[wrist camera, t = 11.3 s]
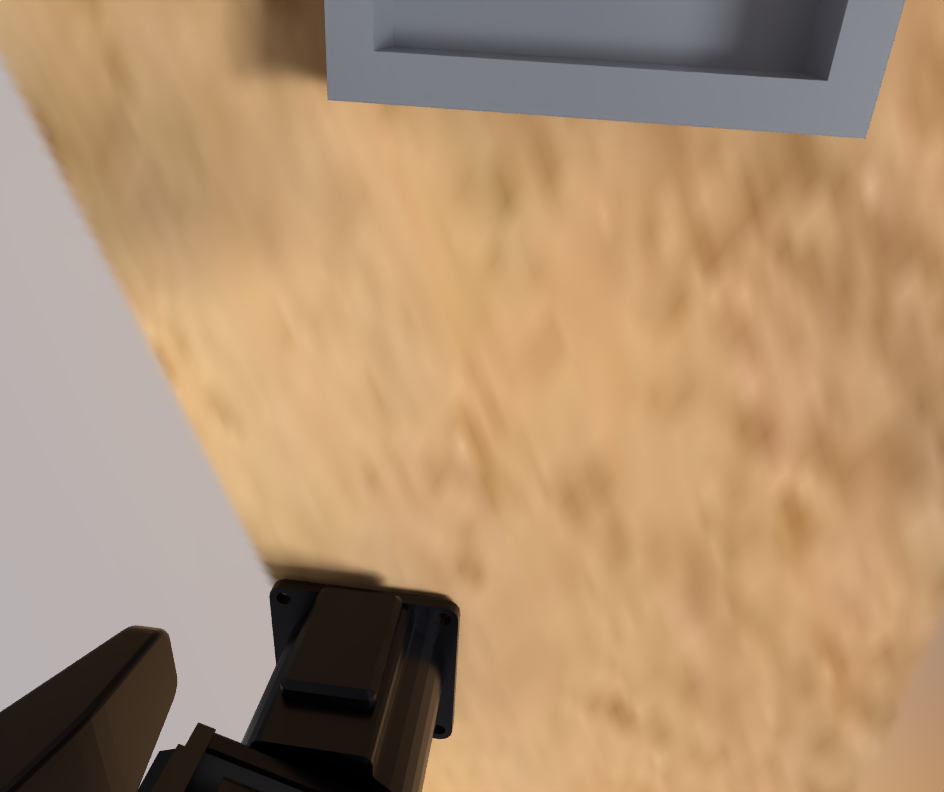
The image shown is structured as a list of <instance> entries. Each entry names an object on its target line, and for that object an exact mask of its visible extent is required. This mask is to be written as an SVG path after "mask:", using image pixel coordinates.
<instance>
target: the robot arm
mask: <svg viewBox="0 0 944 792" xmlns="http://www.w3.org/2000/svg"><path fill="white" fill-rule="evenodd" d="M283 593H285V594H287V595H289V596H286V595H284V594H283ZM270 607H271V617H272V627H273V637H274V646H275V657H276V667H275V669H274V671H273V674H272V676H271V678H270V680H269V683H268V685H267V687H266V689H265V692H264V694H263V696H262V698H261V700H260V702H259V705H258V707H257V709H256V711H255V714H254V716H253V718H252V720H251V723H250V725H249V727H248V729H247V731H246V734H245V736H244V738H243V741H242V742H241V743H239V742H237V741H234V740H232V739H229V738H226V737H224V736H221V735H219V734H217V733H215V731H216V729H214V728H211V727H209V726H206V725H203V724H201V723H198V724H197V726H196V727H195V729H194V731H193V733H192V735H191V736H190V738H189V740H188V742H187V743H186V745H185V746H183V745H180V744H178V746H177V747H176V749H171V750H164V751H159V753H158V755H157V757H156V758H155V760H154V762H153V764H152V766H151V767H150V769H149V771H148V773H147V775H146V776H145V778H144V780H143V782H142V784H141V785H140V783H141V780H142V778H143V775H144V773H145V770H146V768H147V765H148V762H149V760H150V758H151V755H152V752H153V750H154V747H155V745H156V742H157V740H158V737H159V735H160V732H161V730H162V727H163V725H164V722H165V720H166V717H167V714H168V712H169V710H170V707H171V704H172V702H173V699H174V696H175V693H176V687H177V674H176V669H175V663H174V658H173V653H172V648H171V642H170V638H169V635H168V633H167V632H166V631H165V630H163V629H159V628H152V627H144V626H131V627H128V628H126V629H124V630H123V631H121V632H120V633H118V634H117V635H115V636H114V637H112V638H111V639H109V640H108V641H106V642H105V643H103V644H102V645H100V646H99V647H98V648H96V649H94V650H93V651H91V652H90V653H88V654H87V655H85V656H84V657H82V658H81V659H79V660H78V661H76V662H75V663H73V664H72V665H70V666H69V667H67V668H66V669H64V670H63V671H61V672H60V673H58V674H57V675H55V676H54V677H52V678H51V679H49V680H48V681H46V682H45V683H43V684H42V685H40V686H39V687H37V688H36V689H34V690H33V691H31V692H30V693H28V694H27V695H25V696H24V697H22V698H21V699H19V700H18V701H16V702H15V703H13V704H12V705H11V706H9V707H7V708H6V709H4V710H3V711H1V712H0V792H422V788H423V783H424V778H425V773H426V767H427V762H428V757H429V752H430V747H431V742H432V738H436V739H445V738H448V737H449V736H450V735H451V733H452V729H453V723H454V707H455V690H456V673H457V657H458V640H459V623H460V609H459V607H458V606H457V605H456V604H455V603H454V602H452V601H449V600H445V599H437V598H429V597H421V596H413V595H405V594H398V593H390V592H382V591H374V590H366V589H358V588H350V587H343V586H335V585H327V584H319V583H311V582H303V581H295V580H288V579H283V580H279V581H277V582H276V583H275V584H274V586H273V588H272V590H271V592H270ZM441 614H447V615H449V616H442V615H441ZM139 785H140V787H139ZM138 788H139V789H138ZM137 790H138V791H137Z"/></svg>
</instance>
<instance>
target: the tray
mask: <svg viewBox="0 0 944 792" xmlns="http://www.w3.org/2000/svg"><path fill="white" fill-rule="evenodd" d="M904 3H905V0H324V13H325V40H326V67H327V95H328V100H335V101H349V102H363V103H377V104H391V105H404V106H418V107H432V108H446V109H460V110H474V111H488V112H502V113H516V114H530V115H544V116H558V117H572V118H585V119H599V120H613V121H627V122H641V123H655V124H669V125H683V126H697V127H711V128H725V129H739V130H753V131H766V132H780V133H794V134H808V135H822V136H836V137H850V138H864V139H866V135H867V132H868V128H869V125H870V121H871V118H872V114H873V111H874V107H875V104H876V100H877V97H878V93H879V90H880V86H881V83H882V79H883V76H884V73H885V69H886V66H887V62H888V59H889V55H890V52H891V48H892V45H893V41H894V38H895V34H896V31H897V27H898V24H899V20H900V17H901V14H902V10H903V7H904Z"/></svg>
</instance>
